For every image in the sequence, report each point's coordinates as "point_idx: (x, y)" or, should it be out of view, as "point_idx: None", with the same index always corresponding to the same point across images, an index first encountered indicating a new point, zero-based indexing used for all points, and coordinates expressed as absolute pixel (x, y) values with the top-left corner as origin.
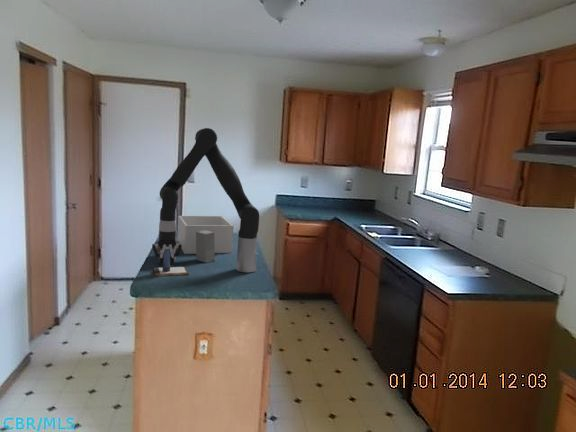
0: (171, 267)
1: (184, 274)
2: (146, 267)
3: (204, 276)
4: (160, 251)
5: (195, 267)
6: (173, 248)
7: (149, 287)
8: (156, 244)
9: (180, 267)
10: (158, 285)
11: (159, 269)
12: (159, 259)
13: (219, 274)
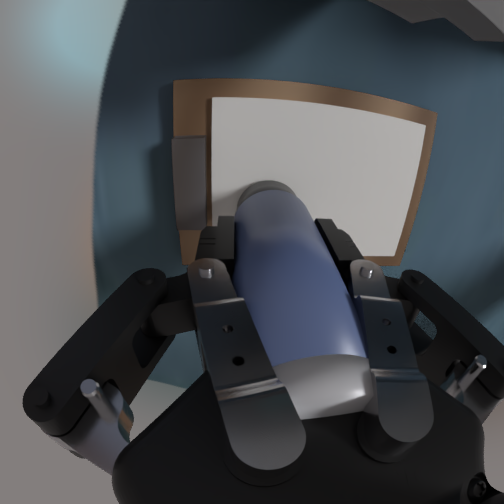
0: (333, 111)
1: (374, 262)
2: (122, 24)
3: (444, 286)
4: (195, 317)
5: (481, 113)
6: (475, 32)
7: (165, 380)
8: (110, 464)
9: (401, 132)
10: (200, 371)
11: (215, 155)
12: (196, 257)
13: (498, 264)
